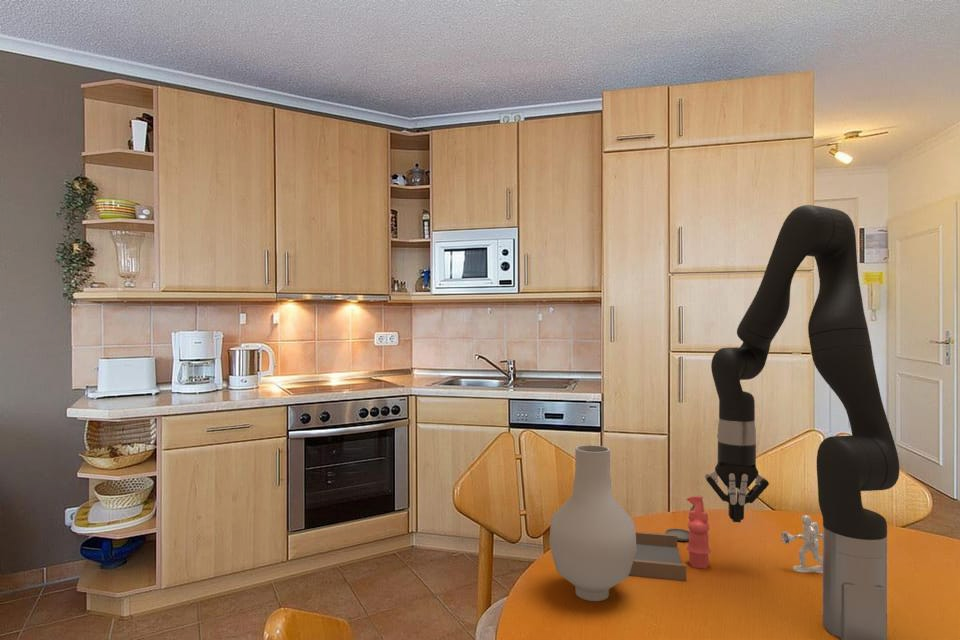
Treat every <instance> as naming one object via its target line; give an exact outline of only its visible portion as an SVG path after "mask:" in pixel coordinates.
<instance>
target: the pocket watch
mask: <svg viewBox="0 0 960 640" xmlns="http://www.w3.org/2000/svg"><path fill="white" fill-rule="evenodd" d="M694 507H695V506H694V505H693V504H692V506H691V507H690V510H689V512H690V511H694ZM689 532H690V530H686V529H682V528H669V529H666V530H665V532H664V534H673V535H677V542H679V541H680V542H689Z"/></svg>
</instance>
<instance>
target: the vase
mask: <svg viewBox="0 0 960 640" xmlns="http://www.w3.org/2000/svg"><path fill="white" fill-rule="evenodd" d="M574 457H575V460H574V461H575V463H574V466H575V468H574V469H575V470H574V478H573V479H574V480H573V484H572V491H571V492H572V493H571V496H570V497H569V498H568V499H567V500H566V501H565V502H564V503H563V504H562V505H561V506H560V507H559V508H558V509H557V510H556V511H555V512H554V514H552V516H550V526H549V528H550V529H549V540H548V541H549V548H550V552H551V556H552V559H553V563H554V566H555V570H556V571H557V573H558V574H559V575H560V577H562V578H563V579H565V580H567V581H568V583H570V584H572V585H573V586H574V587H575V589H574V590H575V595H576V596H577V597H578V598H580V599H581V600H585V601H590V602H600V601H604V600H606V599H608V598H609V596H610V589H612V588H614V587H615V586H616V585H618V584H620V583H621V582H623V581H626V580H627V579H628V577H629V576H630V575H629V574H630V570H631V567H632V564H633V560H634V557H635V554H636V550H637V546H636V532H637V530H636V524H635V522H634V520H633V518H631V516H630V515H629V514H628V513H627V511H625V509H624V508H623V507H622V506H621V505H620V504H619V503H618V501H616V499H615V497H614V495H613V488H612V479H611V450H610V448H609V447H608V446H607V447H606V446H603V445H595V444H594V445H592V444H585V445H578V446H575V456H574Z"/></svg>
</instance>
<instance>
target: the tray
mask: <svg viewBox="0 0 960 640" xmlns="http://www.w3.org/2000/svg"><path fill="white" fill-rule="evenodd" d="M636 546H637V550H636V554H635V557H634V560H633V564H632V567H631V570H630V574H629V576H632V577H640V578H641V577H643V578H654V579H665V580H674V581H683V582H687V564H686V563H682V559H681V557H680V553H679V548H678V540H677V535H673V534H665V533H660V532H659V533H658V532H647V531H645V532H644V531H636Z"/></svg>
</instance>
